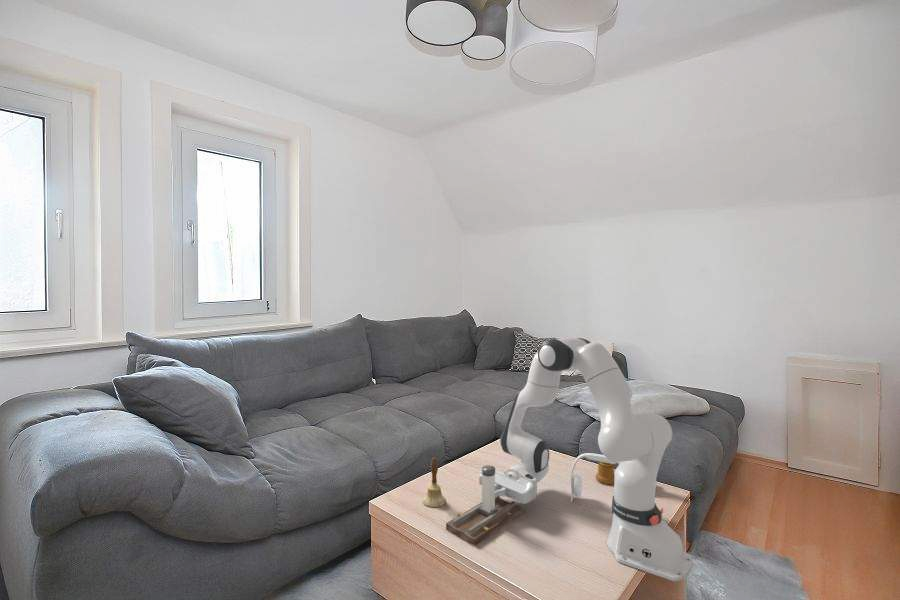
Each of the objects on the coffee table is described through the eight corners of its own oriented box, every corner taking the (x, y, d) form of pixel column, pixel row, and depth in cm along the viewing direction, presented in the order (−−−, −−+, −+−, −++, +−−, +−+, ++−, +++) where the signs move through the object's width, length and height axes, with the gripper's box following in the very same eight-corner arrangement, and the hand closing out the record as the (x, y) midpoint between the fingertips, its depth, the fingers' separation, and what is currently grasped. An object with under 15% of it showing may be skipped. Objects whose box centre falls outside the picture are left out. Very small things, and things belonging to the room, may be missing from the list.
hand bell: (450, 500, 156) (450, 456, 155) (435, 510, 149) (434, 464, 148) (433, 492, 161) (432, 450, 160) (417, 502, 154) (417, 458, 153)
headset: (630, 506, 152) (632, 456, 150) (629, 516, 145) (630, 464, 144) (572, 493, 160) (572, 446, 159) (568, 502, 154) (569, 453, 153)
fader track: (521, 513, 147) (521, 503, 147) (474, 545, 130) (474, 534, 130) (493, 500, 155) (493, 491, 155) (446, 529, 138) (446, 518, 138)
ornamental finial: (599, 474, 175) (618, 479, 170) (593, 481, 169) (612, 487, 165) (599, 455, 174) (619, 460, 170) (593, 461, 168) (613, 467, 164)
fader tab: (498, 512, 143) (498, 468, 142) (489, 517, 140) (490, 473, 139) (487, 506, 147) (487, 464, 146) (478, 511, 144) (478, 468, 143)
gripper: (493, 462, 161) (468, 474, 151) (540, 480, 147) (516, 495, 137) (493, 478, 162) (468, 492, 152) (540, 498, 147) (516, 515, 137)
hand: (491, 494), depth 144 cm, fingers closed, pressing on fader tab
